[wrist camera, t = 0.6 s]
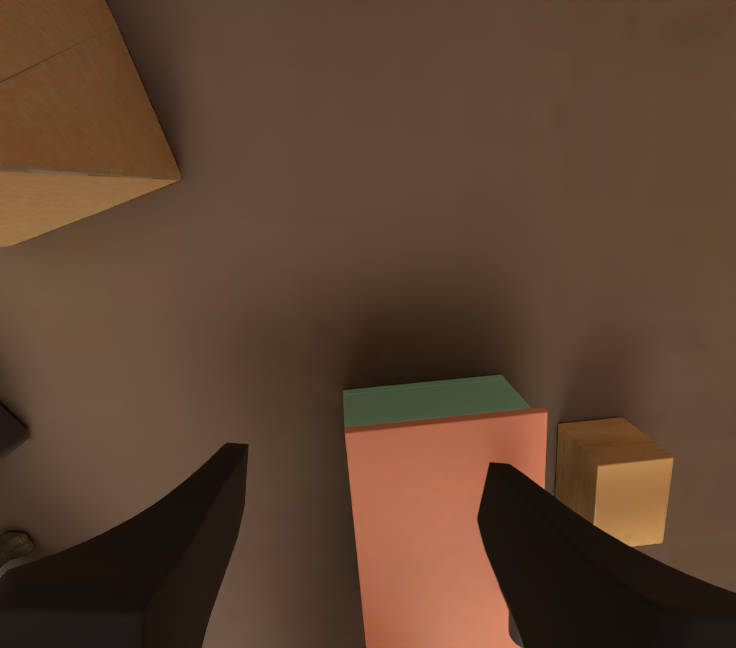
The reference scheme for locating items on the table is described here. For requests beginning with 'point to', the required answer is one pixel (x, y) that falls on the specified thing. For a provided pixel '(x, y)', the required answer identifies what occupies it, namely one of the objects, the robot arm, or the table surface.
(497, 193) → the table surface
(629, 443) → the block
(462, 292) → the table surface
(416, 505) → the lid
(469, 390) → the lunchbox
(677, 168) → the table surface
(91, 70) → the sandwich container
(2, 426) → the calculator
